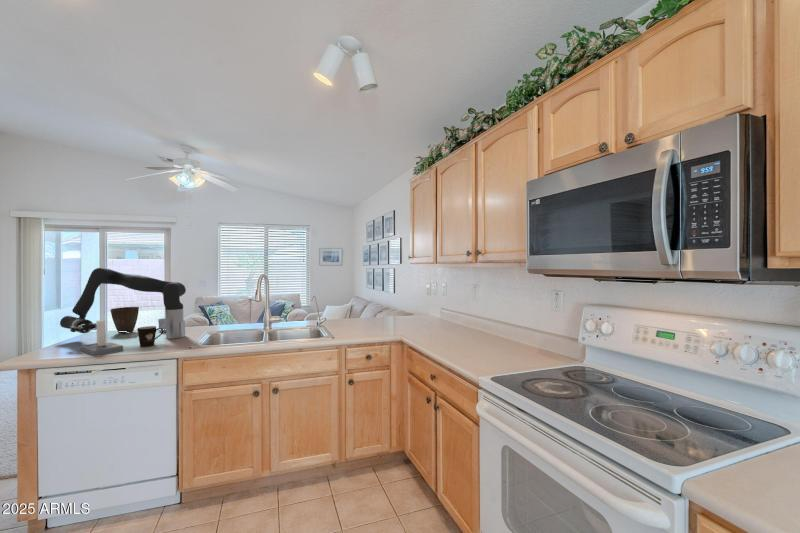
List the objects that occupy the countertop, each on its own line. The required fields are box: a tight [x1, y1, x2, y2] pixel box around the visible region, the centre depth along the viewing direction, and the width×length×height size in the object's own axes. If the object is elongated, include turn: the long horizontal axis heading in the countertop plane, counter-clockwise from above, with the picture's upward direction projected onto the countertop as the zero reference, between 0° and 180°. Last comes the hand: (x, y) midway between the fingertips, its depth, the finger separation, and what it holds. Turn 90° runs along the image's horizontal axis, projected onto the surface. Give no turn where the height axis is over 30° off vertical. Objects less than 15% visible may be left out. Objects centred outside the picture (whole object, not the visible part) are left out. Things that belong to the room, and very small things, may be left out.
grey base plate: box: [79, 340, 124, 357], centre depth 192 cm, size 20×12×3 cm, turn 56°
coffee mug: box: [136, 325, 164, 348], centre depth 203 cm, size 12×9×10 cm
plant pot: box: [110, 306, 140, 335], centre depth 239 cm, size 15×15×16 cm
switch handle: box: [95, 319, 107, 346], centre depth 192 cm, size 2×3×13 cm
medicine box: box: [158, 317, 166, 333], centre depth 244 cm, size 8×4×9 cm, turn 168°
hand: (92, 328), depth 198 cm, fingers open, 8 cm apart
